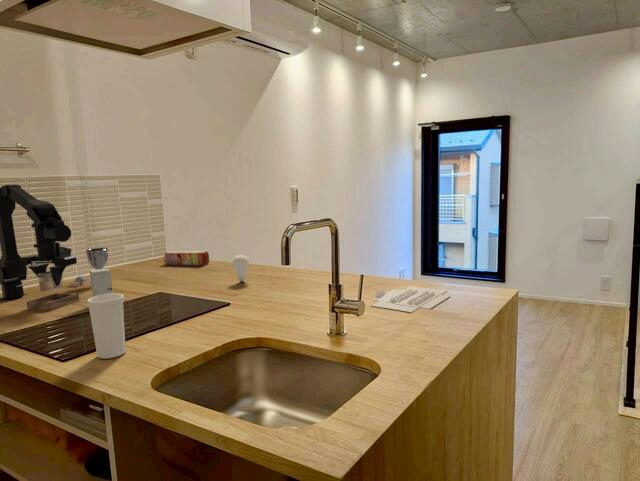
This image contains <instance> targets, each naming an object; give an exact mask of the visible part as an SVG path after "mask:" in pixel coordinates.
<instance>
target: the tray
mask: <svg viewBox="0 0 640 481" xmlns="http://www.w3.org/2000/svg"><path fill="white" fill-rule="evenodd" d="M446 293H448V290H445V289H437V288H427V287H419V286H412V285H411V286H409V287H407V288H404V289H399V288H393V289H391V290H389V291H387V292H386V291H385V290H382V289H380V290H377V291H376V292H375V295H374V298H372V299H371V301H374V302H376V303H374V304H372V305H371V307H377V308H378V307H379V308H382V309H383V308H384V309H389V310H396V311H401V312H402V311H403V312H408V313H411V314H412V313H414V312H416V311H417V310H419V309H424V310H431V309H432V308H434V307H435V306H437V305H438V304H440V303H441V302H443V301H445V300H447V299H448V298H450V297H451V296H449V295H444V294H446Z"/></svg>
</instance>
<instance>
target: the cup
mask: <svg viewBox="0 0 640 481" xmlns="http://www.w3.org/2000/svg"><path fill="white" fill-rule="evenodd" d="M124 296H125V295H124V294H122V293H114V292H113V293H111V294H102V295H97V296H94V297H93V296H91V298H90V297H88V298H89V299H88V300H86V305H87V308H88V309H89V316H90V321H91V327H92V333H93V340H94V344H95V349H96V356H97V358H98V359H112V358H113V359H114V358H117V357H120V356H122V355H123V354H125V353H126V336H125V320H124V319H125V316H124V315H125V314H124V312H125V311H124V301H125V297H124Z"/></svg>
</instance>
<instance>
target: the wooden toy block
mask: <svg viewBox="0 0 640 481" xmlns="http://www.w3.org/2000/svg"><path fill="white" fill-rule="evenodd" d="M63 277H64V276H62V277H61V281H60V285H58V286H56V284H55V282H54V279H53V277H52V274H51V271H50V270H48V271H46V272H44V273H40V274H38V277H37V278H38V285H39V291H40V292H52V293H53V292H55V291H59V290H62V289H65V285H64V278H63Z"/></svg>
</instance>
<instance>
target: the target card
mask: <svg viewBox="0 0 640 481" xmlns="http://www.w3.org/2000/svg"><path fill="white" fill-rule="evenodd" d="M91 297H92V296H91ZM91 297H88V298H85V299H79V300H78V301H77V302H85V301H87V300H88V299H89V298H91Z"/></svg>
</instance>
